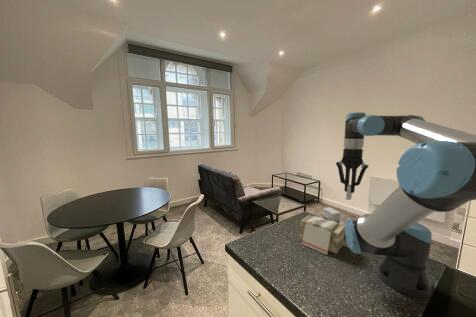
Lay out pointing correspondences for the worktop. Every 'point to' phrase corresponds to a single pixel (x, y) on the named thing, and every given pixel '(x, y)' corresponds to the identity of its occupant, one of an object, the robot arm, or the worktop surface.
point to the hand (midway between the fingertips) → (348, 198)
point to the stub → (316, 238)
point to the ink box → (331, 214)
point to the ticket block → (327, 225)
